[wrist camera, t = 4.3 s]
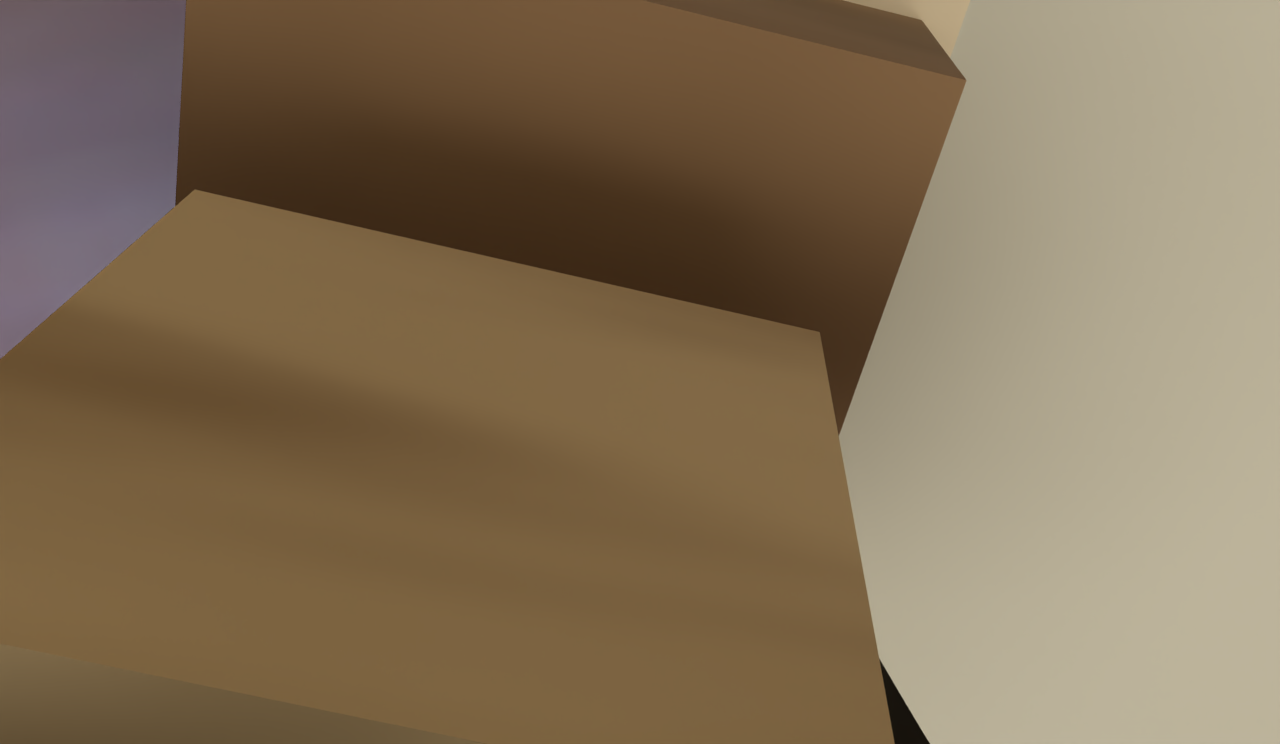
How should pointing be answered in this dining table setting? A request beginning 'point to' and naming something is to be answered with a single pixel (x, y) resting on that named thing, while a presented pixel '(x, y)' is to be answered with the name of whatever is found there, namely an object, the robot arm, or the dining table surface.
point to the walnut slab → (593, 139)
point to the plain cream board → (1084, 383)
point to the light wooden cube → (418, 506)
